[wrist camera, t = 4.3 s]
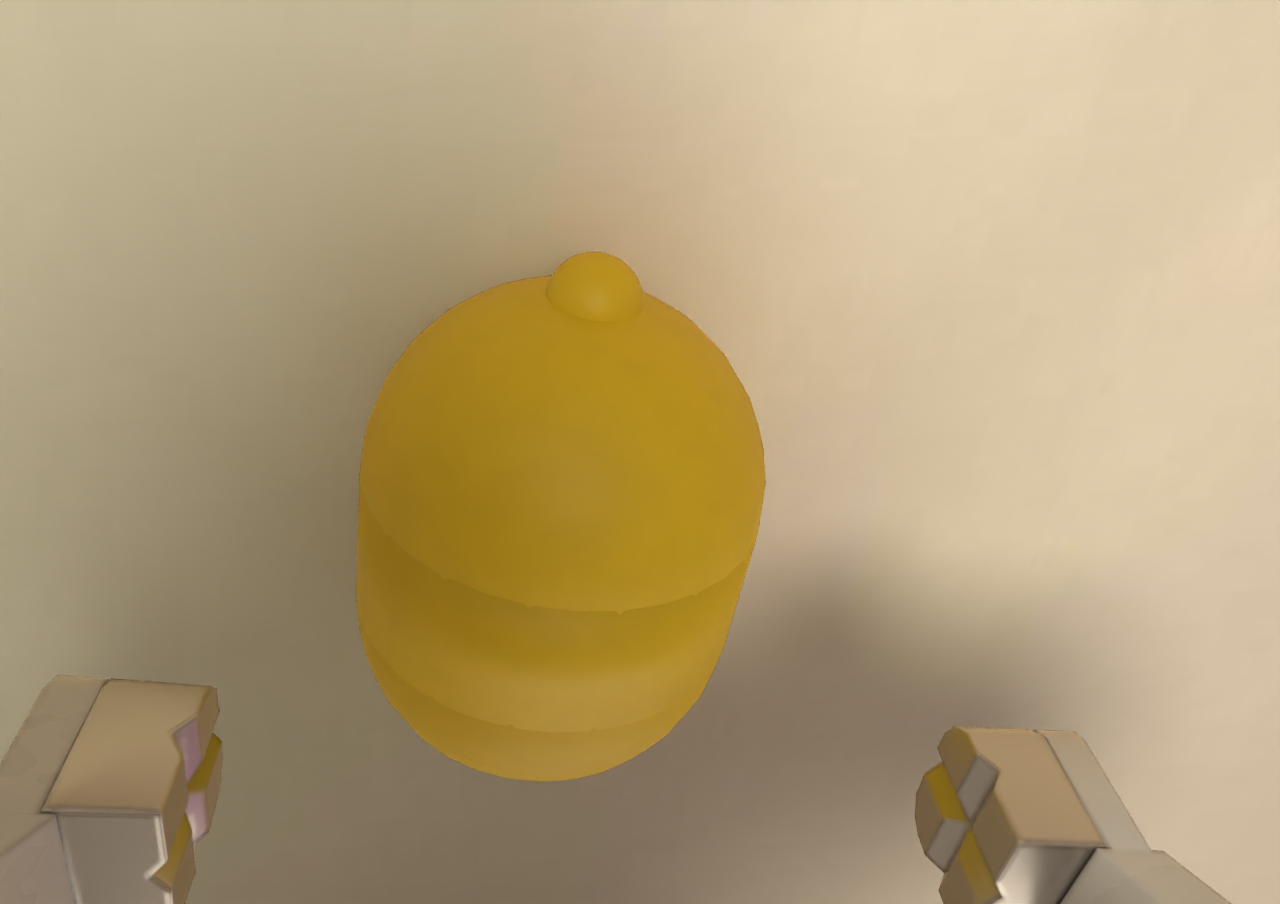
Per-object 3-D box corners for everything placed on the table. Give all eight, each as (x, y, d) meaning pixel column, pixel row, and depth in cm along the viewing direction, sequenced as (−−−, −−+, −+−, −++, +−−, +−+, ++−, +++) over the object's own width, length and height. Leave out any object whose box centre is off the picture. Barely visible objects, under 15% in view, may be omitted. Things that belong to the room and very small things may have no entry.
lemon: (663, 630, 19) (709, 889, 14) (373, 613, 18) (325, 884, 13) (770, 209, 14) (884, 391, 10) (393, 155, 13) (330, 331, 9)
